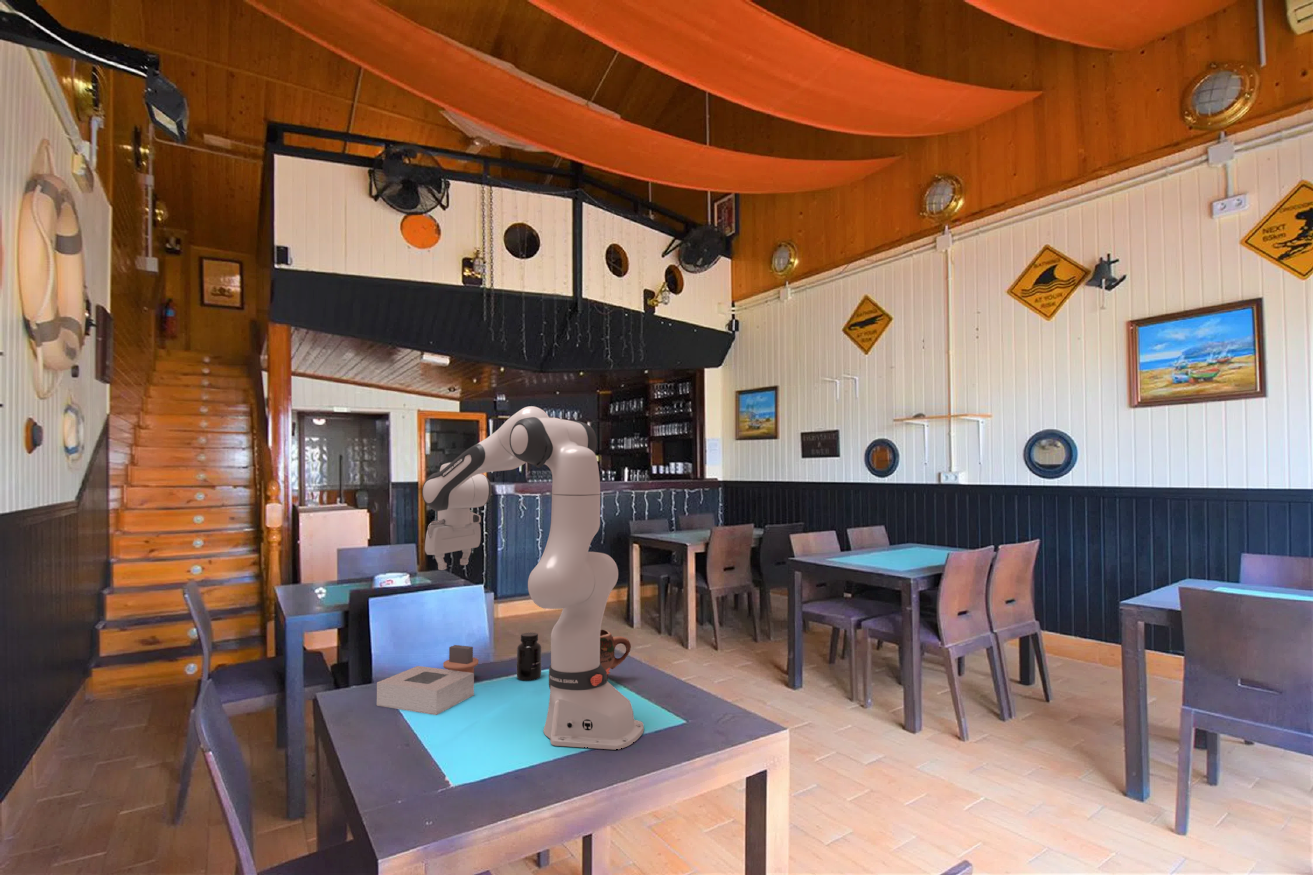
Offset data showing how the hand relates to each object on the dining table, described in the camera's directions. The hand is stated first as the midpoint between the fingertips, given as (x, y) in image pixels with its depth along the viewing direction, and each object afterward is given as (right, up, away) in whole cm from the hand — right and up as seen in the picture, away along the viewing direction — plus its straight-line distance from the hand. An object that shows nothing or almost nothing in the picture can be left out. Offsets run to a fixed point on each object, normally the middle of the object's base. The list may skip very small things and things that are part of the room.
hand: (453, 567), depth 182 cm
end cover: (+4, -31, -8) cm, 32 cm away
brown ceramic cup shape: (+41, -31, -7) cm, 52 cm away
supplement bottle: (+22, -31, -1) cm, 38 cm away
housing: (+1, -30, -23) cm, 38 cm away
